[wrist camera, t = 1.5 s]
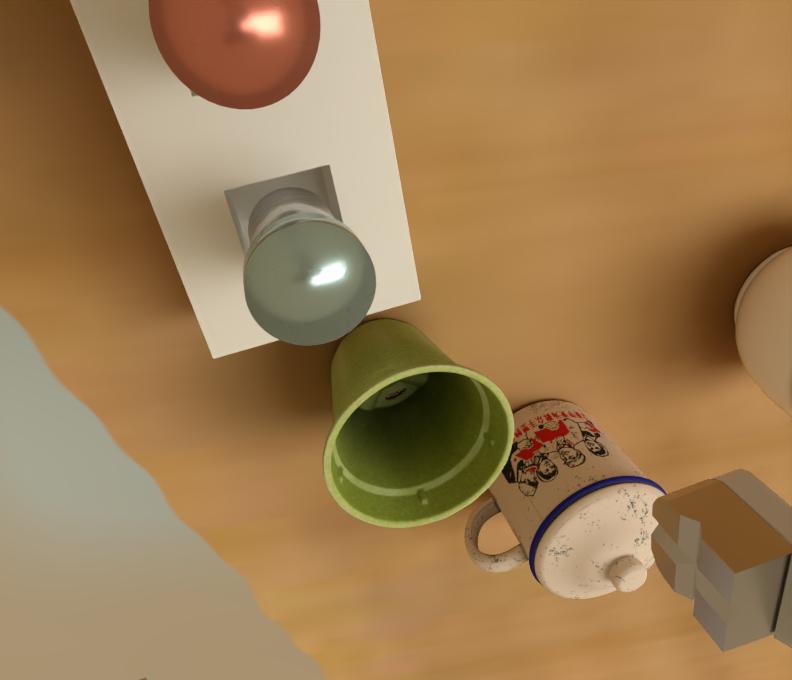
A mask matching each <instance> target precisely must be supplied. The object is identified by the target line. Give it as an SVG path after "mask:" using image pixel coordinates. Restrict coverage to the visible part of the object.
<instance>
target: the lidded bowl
mask: <svg viewBox="0 0 792 680" xmlns="http://www.w3.org/2000/svg"><path fill="white" fill-rule="evenodd" d="M734 322H735V328H736V344H737V349H738V352H739V356H740V359H741V361H742V363H743V365H744V367H745V369H746V371H747V372H748V374H749V376H750V377H751V378H752V380H753V381H754V382H755V383H756V384H757V386H758V387H759V388H760V389H761V390H762V392H763V393H764V394H765V395H766V396H767V397H768V398H769V399H770V400H771V401H773V402H774V403H775V404H776V405H777V406H778V407H779V408H781V409H782V410H783V411H785V412H786V413H787V414H788V415H790V416H791V417H792V246H790V247H787V248H784V249H782V250H779V251H777V252H775V253H774V254H772V255H770V256H769V257H768V258H766V259H765V260H764V261H762V262H761V263H760V264H759V265H758V266H757V267H756V268H755V269H754V270H753V271H752V272H751V274H750V275H749V276H748V278H747V279H746V280H745V282H744V284H743V285H742V287H741V289H740V291H739V293H738V296H737V298H736V302H735V306H734Z"/></svg>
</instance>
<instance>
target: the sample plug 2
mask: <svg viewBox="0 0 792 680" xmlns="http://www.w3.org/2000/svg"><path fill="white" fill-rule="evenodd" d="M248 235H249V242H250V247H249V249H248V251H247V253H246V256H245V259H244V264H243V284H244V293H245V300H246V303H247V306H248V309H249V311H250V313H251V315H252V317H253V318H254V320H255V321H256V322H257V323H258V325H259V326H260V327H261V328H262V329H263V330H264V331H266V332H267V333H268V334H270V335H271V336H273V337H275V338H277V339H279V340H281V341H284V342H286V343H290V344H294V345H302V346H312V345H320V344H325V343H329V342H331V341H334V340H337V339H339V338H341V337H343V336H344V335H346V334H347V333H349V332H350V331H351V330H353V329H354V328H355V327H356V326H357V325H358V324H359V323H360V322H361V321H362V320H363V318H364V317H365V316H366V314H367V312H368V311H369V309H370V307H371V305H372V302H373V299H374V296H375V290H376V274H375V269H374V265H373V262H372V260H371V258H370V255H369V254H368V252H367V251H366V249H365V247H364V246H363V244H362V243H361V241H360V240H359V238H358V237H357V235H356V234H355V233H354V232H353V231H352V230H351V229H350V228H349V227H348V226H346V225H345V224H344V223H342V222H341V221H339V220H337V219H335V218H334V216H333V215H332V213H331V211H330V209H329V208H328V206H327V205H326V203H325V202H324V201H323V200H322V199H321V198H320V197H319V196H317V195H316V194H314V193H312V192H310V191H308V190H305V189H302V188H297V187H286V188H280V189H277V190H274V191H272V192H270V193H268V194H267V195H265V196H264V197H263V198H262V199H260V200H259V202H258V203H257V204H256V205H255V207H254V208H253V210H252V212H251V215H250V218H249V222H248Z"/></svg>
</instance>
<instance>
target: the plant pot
mask: <svg viewBox="0 0 792 680" xmlns="http://www.w3.org/2000/svg"><path fill="white" fill-rule="evenodd" d="M331 386H332V402H333V425H332V427H331V429H330V431H329V434H328V436H327V439H326V442H325V447H324V452H323V472H324V477H325V481H326V484H327V487H328V489H329V491H330V493H331V495H332V496H333V498H334V499H335V500H336V502H337V503H338V504H339V505H340V506H341V507H342V508H343V509H344V510H345V511H346V512H348V513H349V514H351V515H352V516H354V517H356V518H358V519H360V520H362V521H364V522H366V523H370V524H374V525H377V526H383V527H391V528H403V527H414V526H420V525H425V524H429V523H432V522H435V521H438V520H441V519H444V518H446V517H448V516H450V515H452V514H454V513H456V512H458V511H459V510H461V509H463V508H464V507H466V506H468V505H469V504H471V503H472V502H473V501H475V500H476V499H477V498H478V497H479V496H480V495H481V494H482V493H483V492H484V491H485V490H487V489H488V488H489V487H490V486H491V484H492V483H493V482H494V481H495V480H496V478H497V477H498V476H499V474H500V472H501V471H502V469H503V467H504V466H505V464H506V462H507V460H508V457H509V455H510V451H511V447H512V443H513V438H514V418H513V414H512V411H511V408H510V405H509V403H508V401H507V399H506V397H505V396H504V394H503V393H502V391H501V390H500V389H499V388H498V387H497V386H496V385H495V384H494V383H493V382H492V381H491V380H490V379H488V378H487V377H485V376H484V375H482V374H481V373H479V372H477V371H475V370H473V369H470V368H467V367H464V366H460V365H458V364H456V363H454V362H453V361H452V360H451V359H450V358H449V357H448V356H446V355H445V354H444V353H443V352H442V351H441V350H440V349H439V348H438V347H437V346H435V345H434V344H433V343H432V342H431V341H430V340H429V339H428V338H427V337H426V336H425V335H424V334H423V333H422V332H420V331H419V330H418V329H417V328H416V327H414V326H412V325H410V324H407V323H404V322H400V321H396V320H392V319H379V320H374V321H370V322H367V323H365V324H363V325H361V326H359V327H357V328H355V329H354V330H353V331H351V332H350V333H349V334H348V335H347V336H346V337H345V338H344V339H343V340H342V341H341V343H340V344H339V346H338V349H337V351H336V353H335V355H334V358H333V361H332V364H331ZM403 388H406V389H405V390H404V392H402V394H400V395H399V396H397V397H395V398H392V399H386V398H385V397H386V396H387V395H390V394H392V393H395V392H398V391H399V390H403Z"/></svg>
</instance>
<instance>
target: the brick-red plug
mask: <svg viewBox="0 0 792 680" xmlns="http://www.w3.org/2000/svg"><path fill="white" fill-rule="evenodd" d="M148 2H149V18H150V24H151V29H152V32H153V36H154V39H155V42H156V44H157V47H158V49H159V51H160V53H161V55H162V57H163V59H164V60H165V62H166V64H167V65H168V66H169V68H170V69H171V71H172V72H173V73H174V74H175V75H176V77H177V78H178V79H179V80H180V81H181V82H182V83H183V84H184V85H185V86H187V87H188V88H189V89H190V90H191V91H193V92H194V93H196V94H197V95H198V96H200V97H202V98H204V99H206V100H207V101H209V102H212V103H214V104H217V105H220V106H223V107H227V108H232V109H241V110H242V109H257V108H262V107H266V106H269V105H272V104H274V103H276V102H278V101H280V100H282V99H284V98H285V97H287V96H288V95H290V94H291V93H292V92H293V91H294V90H295V89H296V88H297V87H298V86H299V85H300V84H301V83H302V82H303V80H304V79H305V77H306V76H307V74H308V73H309V71H310V69H311V67H312V65H313V63H314V60H315V57H316V54H317V51H318V46H319V41H320V30H321V25H320V12H319V6H318V2H317V0H149V1H148Z"/></svg>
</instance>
